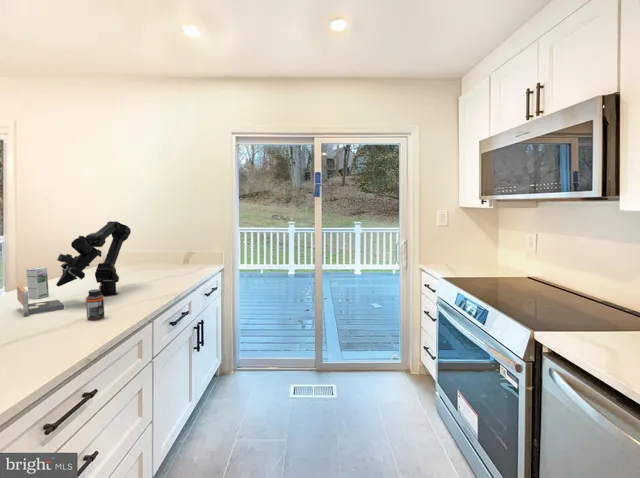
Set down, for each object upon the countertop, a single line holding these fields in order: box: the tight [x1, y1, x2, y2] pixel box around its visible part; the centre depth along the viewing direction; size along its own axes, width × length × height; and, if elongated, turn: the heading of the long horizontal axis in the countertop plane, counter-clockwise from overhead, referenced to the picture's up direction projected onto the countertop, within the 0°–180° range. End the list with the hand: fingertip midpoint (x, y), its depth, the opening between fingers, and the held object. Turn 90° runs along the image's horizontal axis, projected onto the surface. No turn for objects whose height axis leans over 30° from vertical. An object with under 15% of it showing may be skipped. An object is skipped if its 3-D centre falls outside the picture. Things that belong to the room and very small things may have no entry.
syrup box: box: [25, 266, 50, 300], centre depth 179 cm, size 6×6×14 cm
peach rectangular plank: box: [16, 284, 28, 306], centre depth 155 cm, size 2×14×6 cm, turn 46°
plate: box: [22, 290, 65, 317], centre depth 158 cm, size 14×14×10 cm
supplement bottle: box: [85, 288, 105, 321], centre depth 147 cm, size 6×6×11 cm
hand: (57, 285), depth 163 cm, fingers closed
